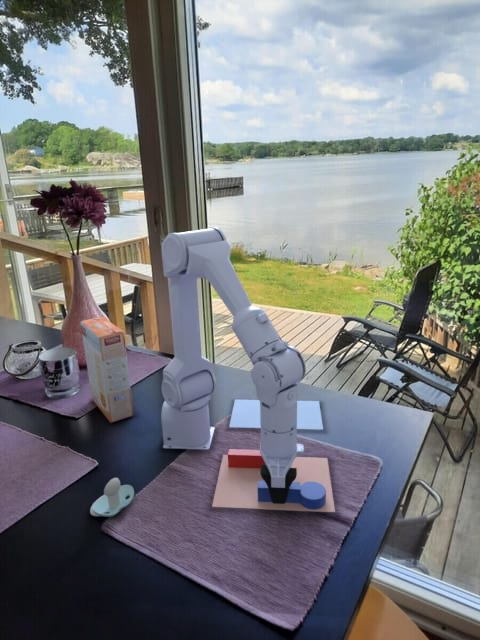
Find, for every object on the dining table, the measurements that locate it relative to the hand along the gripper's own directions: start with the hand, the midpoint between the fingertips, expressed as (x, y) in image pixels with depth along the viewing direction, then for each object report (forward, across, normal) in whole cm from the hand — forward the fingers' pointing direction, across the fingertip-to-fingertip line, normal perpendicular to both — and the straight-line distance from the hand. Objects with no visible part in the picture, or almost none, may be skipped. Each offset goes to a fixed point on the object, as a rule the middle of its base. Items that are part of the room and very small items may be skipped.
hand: (279, 493), depth 73 cm
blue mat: (+2, +27, +1) cm, 27 cm away
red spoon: (+1, +8, +4) cm, 9 cm away
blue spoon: (+1, 0, -2) cm, 2 cm away
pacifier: (+2, -3, +28) cm, 28 cm away
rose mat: (+2, +4, +1) cm, 5 cm away
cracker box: (+2, +29, +40) cm, 49 cm away
